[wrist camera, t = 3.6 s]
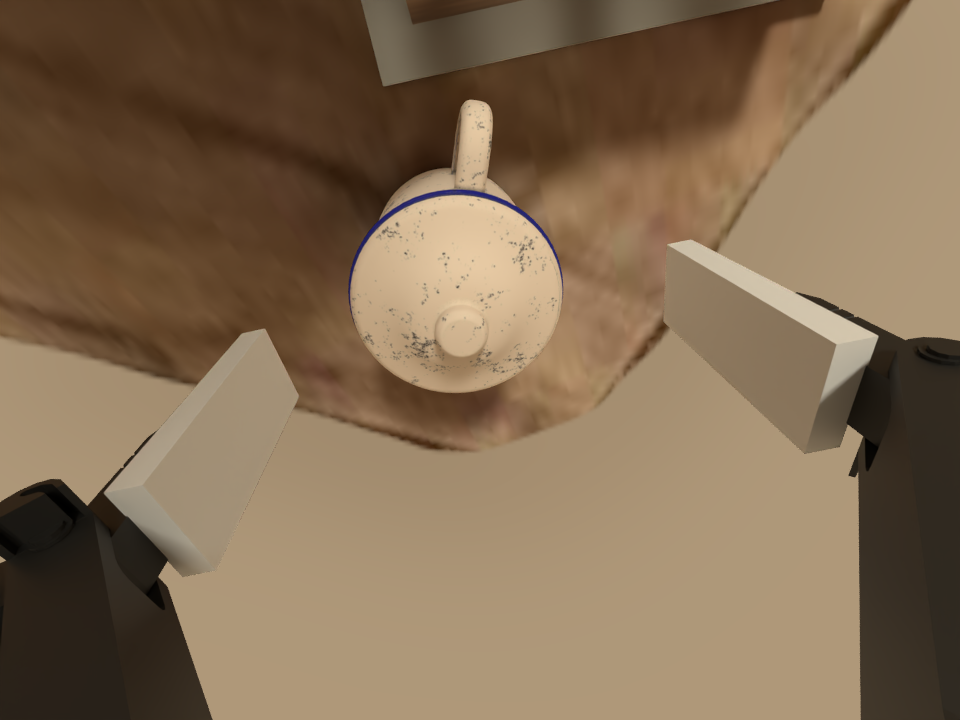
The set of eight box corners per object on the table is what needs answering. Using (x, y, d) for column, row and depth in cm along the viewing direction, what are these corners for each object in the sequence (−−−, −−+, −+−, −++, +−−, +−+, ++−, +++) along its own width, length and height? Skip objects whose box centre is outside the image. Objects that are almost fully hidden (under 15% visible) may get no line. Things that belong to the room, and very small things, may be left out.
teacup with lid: (511, 320, 28) (552, 439, 18) (371, 307, 27) (335, 427, 17) (554, 115, 22) (650, 128, 12) (377, 84, 21) (324, 69, 11)
